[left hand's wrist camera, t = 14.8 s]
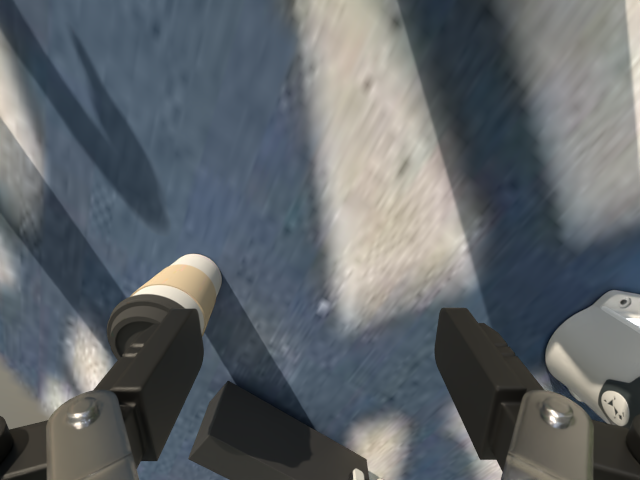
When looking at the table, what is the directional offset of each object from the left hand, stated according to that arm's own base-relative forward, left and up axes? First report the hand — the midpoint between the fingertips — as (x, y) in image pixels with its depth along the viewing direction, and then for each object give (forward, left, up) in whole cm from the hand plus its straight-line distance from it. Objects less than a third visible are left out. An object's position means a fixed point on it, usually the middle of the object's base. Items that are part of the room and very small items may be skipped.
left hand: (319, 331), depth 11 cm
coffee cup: (+17, +14, -32) cm, 39 cm away
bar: (+5, +40, -31) cm, 51 cm away
